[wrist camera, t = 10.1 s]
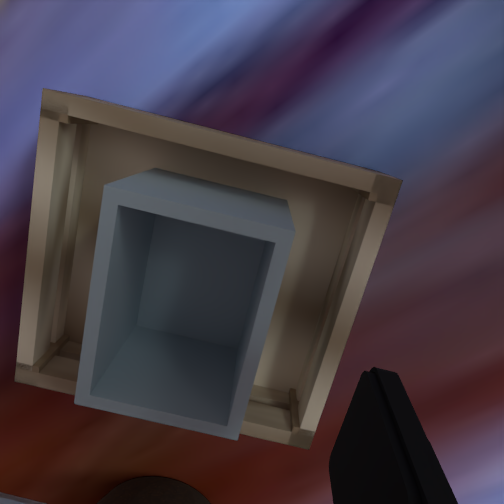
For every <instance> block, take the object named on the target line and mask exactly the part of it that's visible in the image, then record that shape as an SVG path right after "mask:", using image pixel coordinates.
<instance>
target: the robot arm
mask: <svg viewBox="0 0 504 504" xmlns="http://www.w3.org/2000/svg"><path fill="white" fill-rule="evenodd" d="M329 474H330V481H331V488H332V496H333V503H334V504H458V502H457V500H456V498H455V496H454V494H453V492H452V489H451V487H450V485H449V483H448V481H447V478H446V476H445V474H444V472H443V470H442V468H441V465H440V463H439V461H438V459H437V457H436V455H435V452H434V450H433V448H432V446H431V444H430V442H429V440H428V439H427V437H426V435H425V432H424V430H423V428H422V426H421V424H420V421H419V419H418V417H417V415H416V413H415V410H414V408H413V406H412V404H411V402H410V400H409V397H408V395H407V393H406V391H405V389H404V386H403V384H402V382H401V380H400V378H399V375H398V374H397V373H395V372H391V371H387V370H383V369H379V368H376V367H373V368H372V369H371V370H370V372H368V371H364V372H363V373H362V375H361V377H360V380H359V382H358V385H357V388H356V390H355V393H354V395H353V398H352V401H351V403H350V406H349V408H348V411H347V414H346V416H345V419H344V421H343V424H342V427H341V429H340V432H339V434H338V437H337V440H336V442H335V445H334V447H333V450H332V453H331V456H330V461H329ZM0 504H46V503H42V502H38V501H34V500H30V499H26V498H22V497H18V496H14V495H9V494H5V493H1V492H0Z"/></svg>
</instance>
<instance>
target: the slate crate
mask: <svg viewBox="0 0 504 504" xmlns="http://www.w3.org/2000/svg"><path fill="white" fill-rule="evenodd" d="M295 232H296V231H295V227H294V224H293V220H292V216H291V213H290V209H289V206H288V202H287V200H285V199H281V198H276V197H272V196H268V195H264V194H260V193H256V192H252V191H248V190H244V189H240V188H236V187H232V186H228V185H223V184H219V183H215V182H211V181H207V180H203V179H199V178H195V177H191V176H187V175H183V174H179V173H175V172H171V171H166V170H162V169H158V168H153V169H150V170H147V171H144V172H141V173H138V174H135V175H132V176H129V177H126V178H123V179H120V180H117V181H114V182H111V183H108V184H105V185H104V189H103V196H102V204H101V211H100V218H99V225H98V233H97V240H96V247H95V254H94V262H93V269H92V276H91V284H90V291H89V298H88V305H87V313H86V320H85V327H84V334H83V342H82V349H81V356H80V363H79V371H78V378H77V385H76V393H75V400H74V404H77V405H82V406H86V407H91V408H95V409H99V410H104V411H108V412H113V413H117V414H122V415H126V416H130V417H135V418H139V419H144V420H148V421H153V422H157V423H162V424H166V425H170V426H175V427H179V428H184V429H188V430H193V431H197V432H201V433H206V434H210V435H215V436H219V437H224V438H228V439H232V440H237V441H238V437H239V434H240V430H241V426H242V423H243V419H244V416H245V412H246V408H247V405H248V401H249V398H250V394H251V390H252V387H253V383H254V380H255V376H256V372H257V369H258V365H259V362H260V358H261V354H262V351H263V347H264V344H265V340H266V336H267V333H268V329H269V326H270V322H271V318H272V315H273V311H274V308H275V304H276V300H277V297H278V293H279V290H280V286H281V282H282V279H283V275H284V272H285V268H286V264H287V261H288V257H289V254H290V250H291V246H292V243H293V239H294V236H295Z"/></svg>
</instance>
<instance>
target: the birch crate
mask: <svg viewBox="0 0 504 504" xmlns="http://www.w3.org/2000/svg"><path fill="white" fill-rule="evenodd" d="M153 168H158V169H162V170H166V171H171V172H175V173H179V174H183V175H187V176H191V177H195V178H199V179H203V180H207V181H211V182H215V183H219V184H223V185H228V186H232V187H236V188H240V189H244V190H248V191H252V192H256V193H260V194H264V195H268V196H272V197H276V198H281V199H285V200H287V202H288V206H289V209H290V213H291V216H292V220H293V224H294V227H295V231H296V232H295V236H294V239H293V243H292V246H291V250H290V254H289V257H288V261H287V264H286V268H285V272H284V275H283V279H282V282H281V286H280V290H279V293H278V297H277V300H276V304H275V308H274V311H273V315H272V318H271V322H270V326H269V329H268V333H267V336H266V340H265V344H264V347H263V351H262V354H261V358H260V362H259V365H258V369H257V372H256V376H255V380H254V383H253V387H252V390H251V394H250V398H249V401H248V405H247V408H246V412H245V416H244V419H243V423H242V426H241V430H240V434H244V435H248V436H252V437H257V438H261V439H265V440H270V441H274V442H278V443H282V444H287V445H291V446H295V447H300V448H304V449H308V450H309V448H310V445H311V442H312V440H313V437H314V434H315V431H316V428H317V425H318V422H319V420H320V417H321V414H322V411H323V408H324V405H325V402H326V399H327V397H328V394H329V391H330V388H331V385H332V382H333V379H334V377H335V374H336V371H337V368H338V365H339V362H340V359H341V356H342V354H343V351H344V348H345V345H346V342H347V339H348V336H349V333H350V331H351V328H352V325H353V322H354V319H355V316H356V313H357V311H358V308H359V305H360V302H361V299H362V296H363V293H364V290H365V288H366V285H367V282H368V279H369V276H370V273H371V270H372V268H373V265H374V262H375V259H376V256H377V253H378V250H379V247H380V245H381V242H382V239H383V236H384V233H385V230H386V227H387V224H388V222H389V219H390V216H391V213H392V210H393V207H394V204H395V202H396V199H397V196H398V193H399V190H400V187H401V184H402V181H403V180H400V179H397V178H395V177H392V176H389V175H387V174H384V173H382V172H379V171H375V170H371V169H367V168H363V167H360V166H356V165H352V164H348V163H344V162H340V161H336V160H332V159H328V158H324V157H321V156H317V155H313V154H309V153H305V152H301V151H297V150H293V149H289V148H286V147H282V146H278V145H274V144H270V143H266V142H262V141H258V140H254V139H251V138H247V137H243V136H239V135H235V134H231V133H227V132H223V131H219V130H216V129H212V128H208V127H204V126H200V125H196V124H192V123H188V122H184V121H180V120H177V119H173V118H169V117H165V116H161V115H157V114H153V113H149V112H145V111H142V110H138V109H134V108H130V107H126V106H122V105H118V104H114V103H110V102H107V101H103V100H99V99H95V98H91V97H87V96H83V95H77V94H72V93H67V92H61V91H56V90H50V89H45V88H43V91H42V101H41V111H40V122H39V132H38V143H37V153H36V163H35V174H34V184H33V195H32V205H31V215H30V226H29V236H28V247H27V257H26V267H25V278H24V288H23V299H22V309H21V319H20V330H19V340H18V351H17V361H16V371H15V382H20V383H24V384H28V385H33V386H37V387H41V388H45V389H50V390H54V391H58V392H63V393H67V394H71V395H75V393H76V385H77V378H78V371H79V363H80V356H81V349H82V342H83V334H84V327H85V320H86V313H87V305H88V298H89V291H90V284H91V276H92V269H93V262H94V254H95V247H96V240H97V233H98V225H99V218H100V211H101V204H102V196H103V189H104V185H105V184H108V183H111V182H114V181H117V180H120V179H123V178H126V177H129V176H132V175H135V174H138V173H141V172H144V171H147V170H150V169H153Z"/></svg>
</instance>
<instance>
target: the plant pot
mask: <svg viewBox="0 0 504 504" xmlns="http://www.w3.org/2000/svg"><path fill="white" fill-rule="evenodd" d="M97 504H210V502H209V501H208V500H207V499H206V498H205V497H204V496H203V495H202V494H201V493H199V492H198V491H197V490H195V489H194V488H192V487H190V486H189V485H187V484H184V483H182V482H180V481H176V480H173V479H170V478H164V477H153V476H151V477H141V478H136V479H132V480H129V481H126V482H124V483H122V484H120V485H118V486H116V487H115V488H114V489H112V490H111V491H110V492H109V493H108V494H107V495H106V496H104V497H103V498H102V499H101V500H100V501H99V502H98V503H97Z"/></svg>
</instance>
